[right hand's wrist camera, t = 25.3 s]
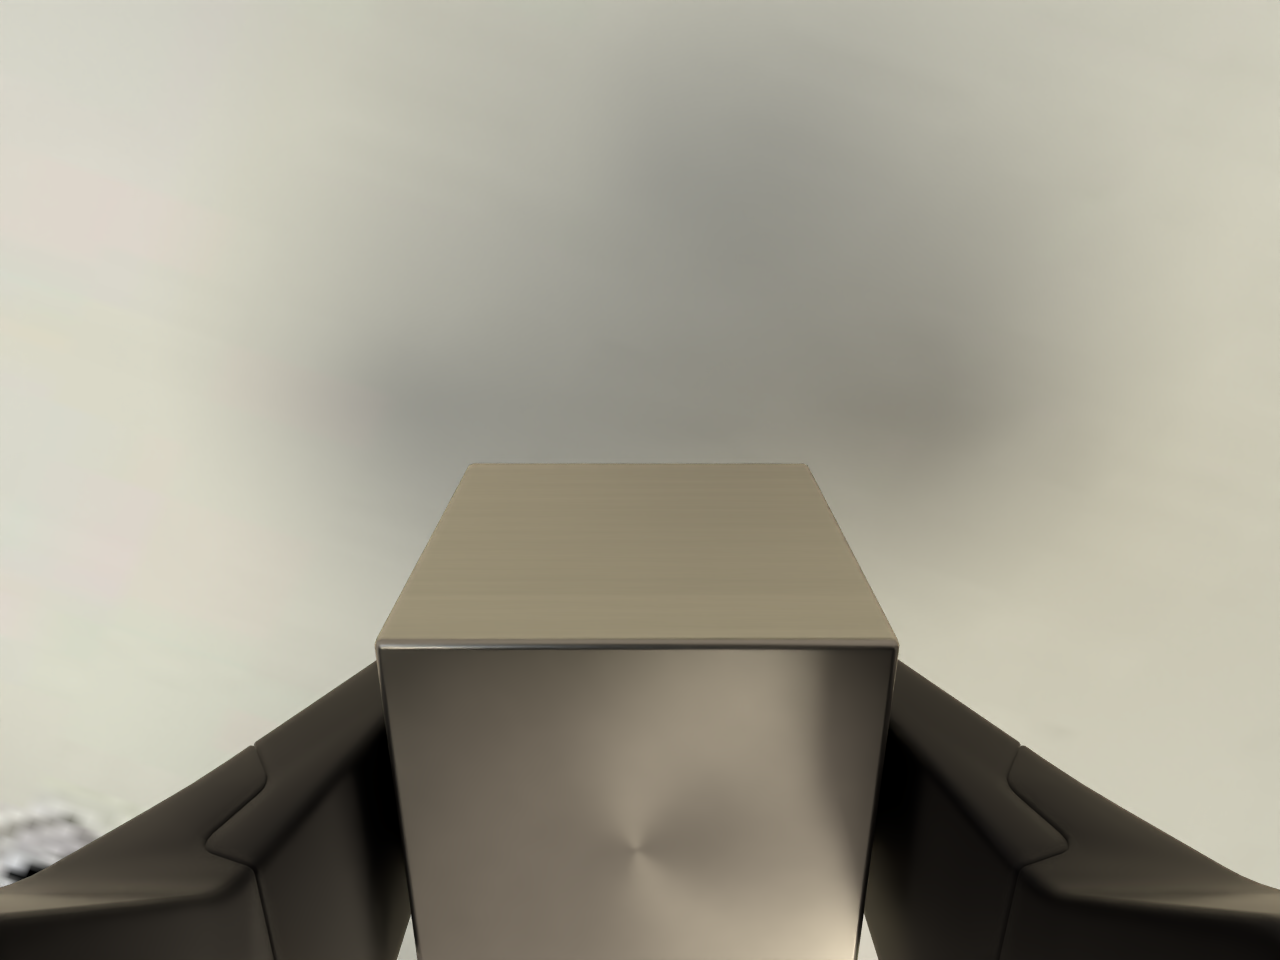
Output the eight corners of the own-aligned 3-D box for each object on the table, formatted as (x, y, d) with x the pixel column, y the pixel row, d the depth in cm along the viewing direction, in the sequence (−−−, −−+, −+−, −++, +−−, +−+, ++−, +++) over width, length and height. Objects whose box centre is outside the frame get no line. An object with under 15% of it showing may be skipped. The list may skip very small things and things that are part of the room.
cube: (786, 744, 13) (852, 1017, 9) (491, 743, 13) (422, 1017, 9) (808, 461, 12) (903, 641, 7) (468, 461, 12) (370, 641, 7)
